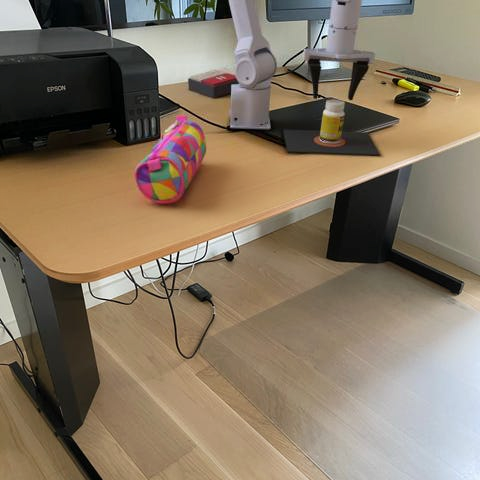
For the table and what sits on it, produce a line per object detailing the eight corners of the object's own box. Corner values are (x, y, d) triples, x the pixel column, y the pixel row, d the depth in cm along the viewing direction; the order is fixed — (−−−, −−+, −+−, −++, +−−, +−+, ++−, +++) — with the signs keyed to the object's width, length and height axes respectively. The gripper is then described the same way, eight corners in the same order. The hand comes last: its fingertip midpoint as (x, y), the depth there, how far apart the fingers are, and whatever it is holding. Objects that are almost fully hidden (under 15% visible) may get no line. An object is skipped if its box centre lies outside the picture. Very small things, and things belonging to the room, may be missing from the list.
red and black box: (187, 75, 142) (225, 65, 150) (188, 91, 145) (225, 80, 153) (213, 84, 136) (252, 72, 144) (214, 100, 139) (252, 88, 147)
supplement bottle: (339, 145, 112) (346, 105, 107) (318, 143, 113) (323, 103, 108) (340, 138, 116) (346, 99, 111) (320, 136, 117) (325, 97, 111)
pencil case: (162, 158, 104) (159, 113, 98) (207, 161, 103) (207, 116, 98) (134, 205, 87) (129, 154, 81) (188, 210, 87) (187, 158, 81)
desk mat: (287, 152, 109) (287, 150, 109) (283, 131, 120) (283, 128, 120) (379, 156, 109) (380, 153, 109) (367, 134, 120) (367, 131, 120)
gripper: (309, 28, 98) (300, 102, 107) (383, 32, 99) (369, 105, 107) (305, 22, 104) (298, 92, 112) (375, 25, 104) (363, 95, 113)
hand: (332, 98), depth 110 cm, fingers open, 7 cm apart
